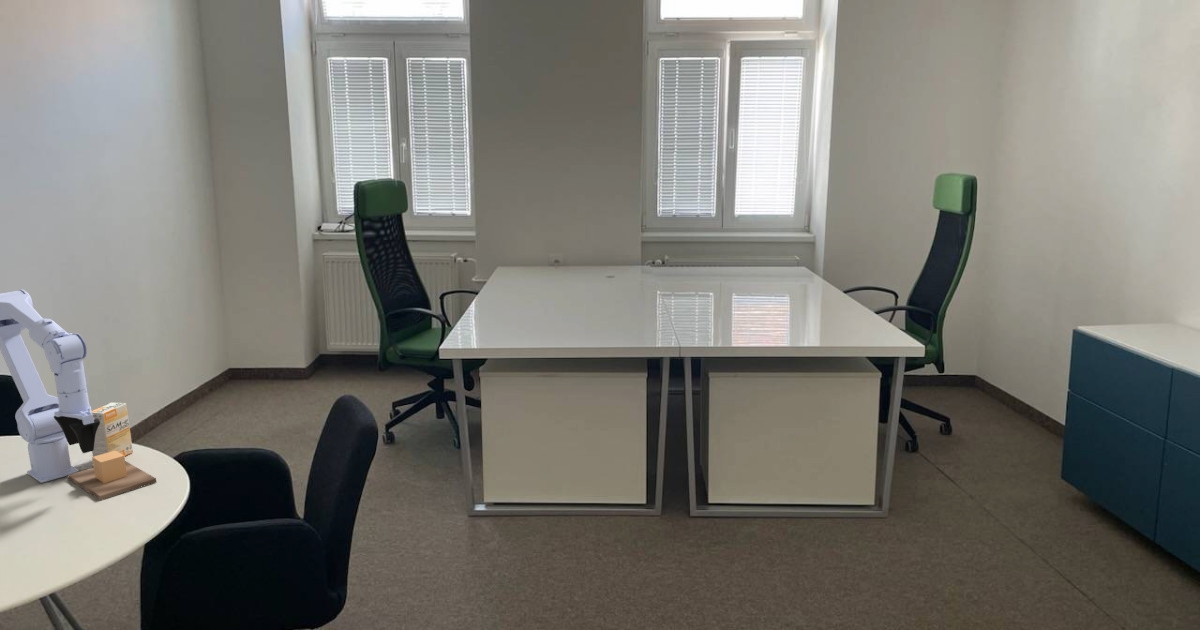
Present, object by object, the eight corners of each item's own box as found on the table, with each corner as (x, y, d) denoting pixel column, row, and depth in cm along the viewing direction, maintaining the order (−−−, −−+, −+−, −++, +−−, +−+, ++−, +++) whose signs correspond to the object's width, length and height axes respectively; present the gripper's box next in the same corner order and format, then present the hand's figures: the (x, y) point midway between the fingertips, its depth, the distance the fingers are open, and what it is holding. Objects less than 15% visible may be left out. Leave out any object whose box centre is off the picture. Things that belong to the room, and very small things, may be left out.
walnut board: (68, 479, 207) (68, 475, 207) (122, 463, 216) (122, 459, 216) (100, 500, 195) (99, 495, 195) (156, 482, 204) (155, 478, 204)
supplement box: (110, 465, 215) (102, 413, 212) (93, 464, 215) (85, 412, 212) (134, 452, 222) (127, 402, 219) (117, 451, 223) (110, 401, 220)
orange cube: (95, 477, 205) (92, 456, 204) (118, 470, 209) (115, 450, 208) (104, 483, 202) (100, 462, 201) (127, 476, 206) (124, 455, 204)
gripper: (39, 387, 199) (49, 445, 202) (64, 400, 190) (74, 460, 193) (74, 380, 204) (82, 436, 207) (100, 392, 195) (108, 451, 198)
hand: (81, 447), depth 200 cm, fingers open, 7 cm apart
